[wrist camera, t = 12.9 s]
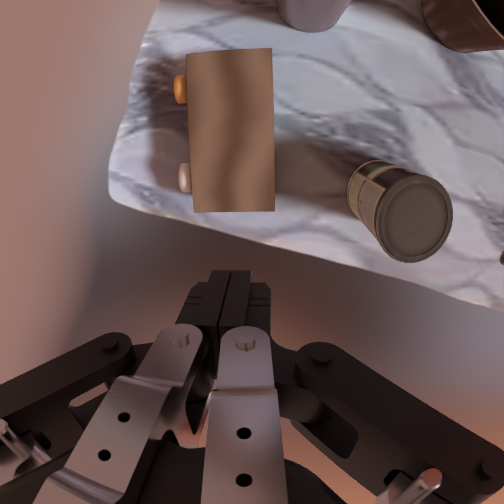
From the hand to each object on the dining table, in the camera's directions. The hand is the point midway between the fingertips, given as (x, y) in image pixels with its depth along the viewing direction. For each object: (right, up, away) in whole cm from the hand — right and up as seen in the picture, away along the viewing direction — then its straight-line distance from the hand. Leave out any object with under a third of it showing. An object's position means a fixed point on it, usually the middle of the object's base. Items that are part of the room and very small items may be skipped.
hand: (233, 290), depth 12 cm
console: (-1, +19, +28) cm, 34 cm away
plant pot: (+34, +40, +17) cm, 55 cm away
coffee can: (+20, +11, +30) cm, 38 cm away
